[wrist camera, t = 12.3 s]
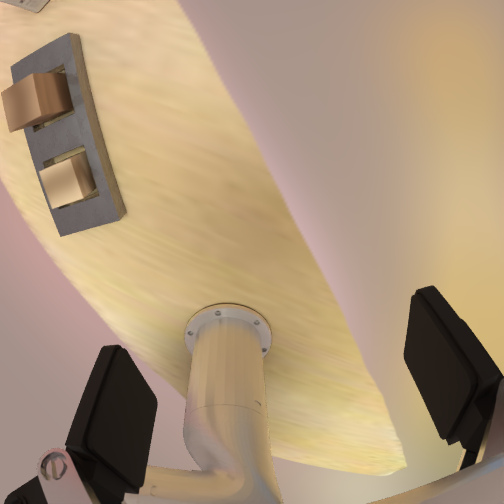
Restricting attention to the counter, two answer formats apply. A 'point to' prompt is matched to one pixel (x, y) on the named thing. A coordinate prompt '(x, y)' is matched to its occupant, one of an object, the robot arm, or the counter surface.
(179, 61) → the counter surface
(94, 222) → the grey flat frame
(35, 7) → the skincare box
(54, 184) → the seated oak block
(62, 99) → the walnut block
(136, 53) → the counter surface
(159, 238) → the counter surface
